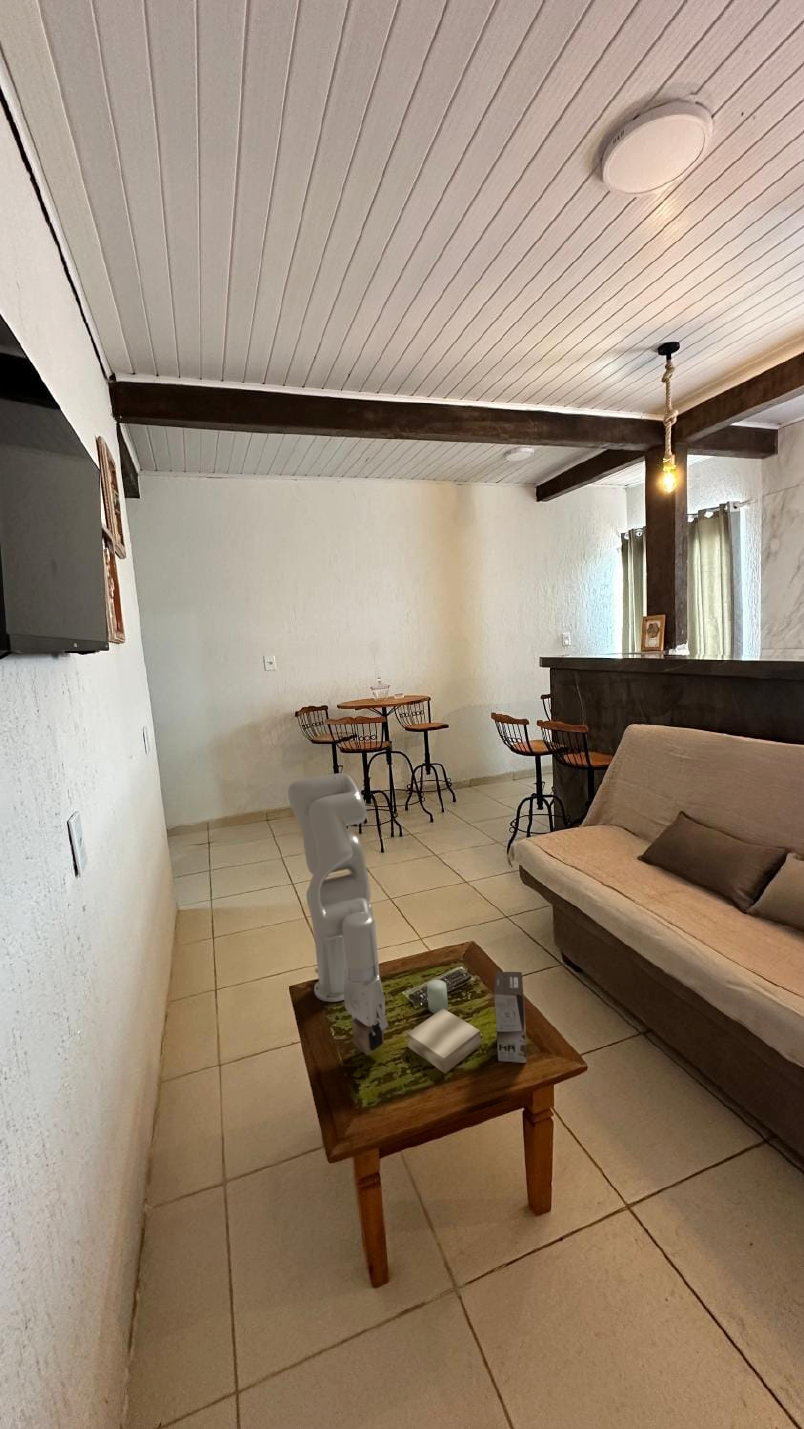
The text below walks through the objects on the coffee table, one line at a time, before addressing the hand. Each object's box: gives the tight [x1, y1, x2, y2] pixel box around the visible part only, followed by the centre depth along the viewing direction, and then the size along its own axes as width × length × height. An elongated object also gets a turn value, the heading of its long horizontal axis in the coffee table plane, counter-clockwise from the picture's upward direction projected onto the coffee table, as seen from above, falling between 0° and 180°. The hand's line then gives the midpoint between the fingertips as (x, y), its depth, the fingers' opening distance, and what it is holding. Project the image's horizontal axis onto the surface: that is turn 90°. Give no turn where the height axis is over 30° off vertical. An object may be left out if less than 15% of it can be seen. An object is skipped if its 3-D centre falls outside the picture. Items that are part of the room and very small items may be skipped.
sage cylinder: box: [426, 979, 449, 1014], centre depth 144 cm, size 5×5×6 cm
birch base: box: [406, 1009, 482, 1074], centre depth 130 cm, size 12×12×4 cm
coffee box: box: [493, 971, 527, 1064], centre depth 127 cm, size 9×6×16 cm
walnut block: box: [351, 1018, 385, 1056], centre depth 128 cm, size 5×5×6 cm
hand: (368, 1040), depth 129 cm, fingers closed on walnut block, 5 cm apart
